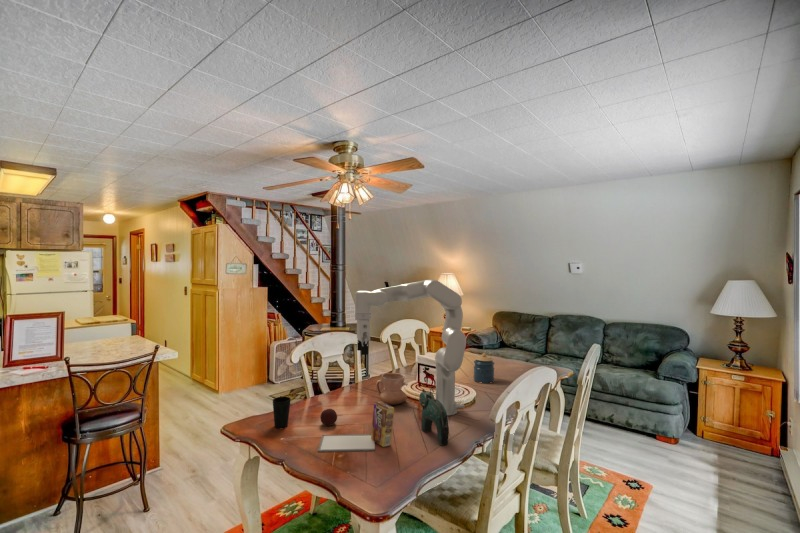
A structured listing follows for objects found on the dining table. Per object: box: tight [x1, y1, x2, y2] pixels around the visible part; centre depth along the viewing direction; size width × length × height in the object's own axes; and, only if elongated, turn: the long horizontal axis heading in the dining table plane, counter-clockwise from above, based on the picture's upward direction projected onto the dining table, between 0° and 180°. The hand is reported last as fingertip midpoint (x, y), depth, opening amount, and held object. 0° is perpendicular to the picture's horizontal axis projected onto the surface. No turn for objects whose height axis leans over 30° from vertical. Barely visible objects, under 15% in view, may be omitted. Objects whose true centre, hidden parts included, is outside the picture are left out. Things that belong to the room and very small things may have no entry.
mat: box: [317, 433, 376, 453], centre depth 160 cm, size 22×14×1 cm, turn 94°
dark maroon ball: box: [320, 408, 338, 427], centre depth 178 cm, size 7×8×7 cm
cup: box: [272, 396, 291, 430], centre depth 175 cm, size 8×8×12 cm
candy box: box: [370, 400, 395, 448], centre depth 161 cm, size 9×4×15 cm, turn 39°
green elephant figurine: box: [418, 387, 450, 447], centre depth 168 cm, size 20×6×20 cm, turn 23°
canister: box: [473, 352, 495, 384], centre depth 251 cm, size 13×13×18 cm
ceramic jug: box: [375, 372, 409, 406], centre depth 209 cm, size 18×14×14 cm
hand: (362, 352), depth 188 cm, fingers open, 9 cm apart
